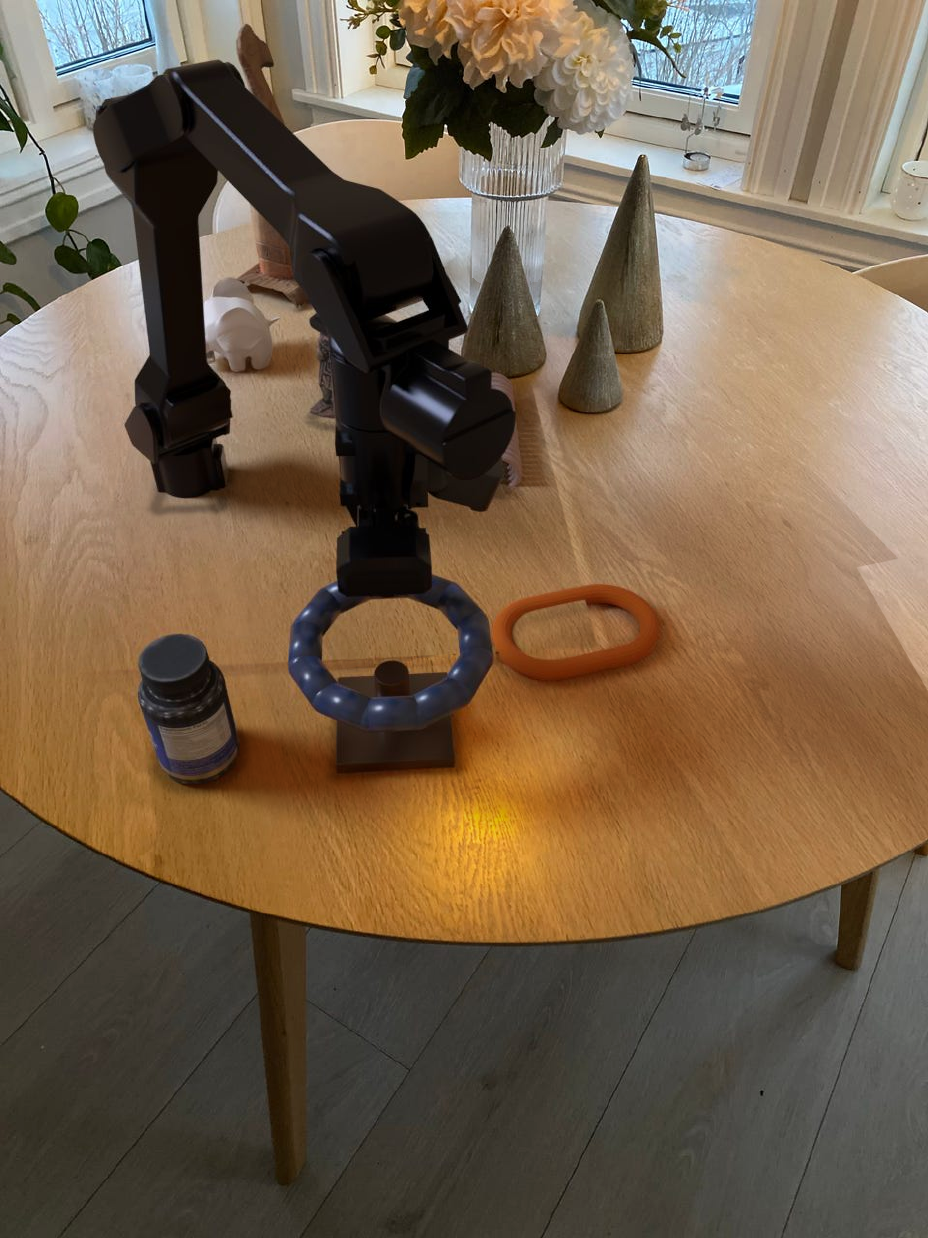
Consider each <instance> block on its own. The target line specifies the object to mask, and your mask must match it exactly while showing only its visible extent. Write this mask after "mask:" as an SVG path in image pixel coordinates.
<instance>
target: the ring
mask: <svg viewBox="0 0 928 1238" xmlns="http://www.w3.org/2000/svg"><path fill="white" fill-rule="evenodd" d="M394 599H397V600H398V599H409V600H411V601H414V602H417V603H420V604H422V605H425V606H428V607H430V608H433V609H436V610H438V611H440V613H441V614H442V615H443V616H444V617H445V619H447V620H448V622H450V624H451V625H452V626H453V627H454V629H456V631H457V637H458V638H457V639H458V649H459V655H458V657H457V659H456V660H455V661H454V663H453V665H452V666H451V668H450V670H449V671H448V672H447V676H446V678H445V679H443V680H441V681H439V682H437V683H435V684H433V685H432V686H430V687H428V688H426V689H424V690H422V691H420V692H418V693H416V694H414V695H413V696H393V697H370V696H367V695H365V694H362V693H360V692H358V691H355V690H353V689H350V688H348V687H345V686H343V685H341V684H338V680H337V679H336V678H335V677H334V676H333V674H332V673H331V671H330V670H329V669H328V667H327V666H326V664H325V663H324V662H323V641H324V640H323V639H324V636H325V635H326V633H328V631H329V630H330V628H331V627H332V626H333V624H334V623H335V621H336V620H337V619H338V618H339V616H340V615H342V614H344V613H347V612H348V611H350V610H352V609H354V608H356V607H359V606H361V605H362V604H365V603H368V602H369V601H371V600H394ZM288 641H289V642H288V657H287V658H288V660H287V670H288V673H289V675H290V677H291V679H292V680H293V681H294V683H295V684H296V686H297V687H298V688H299V690H300V691H301V693H302V694H303V695H304V697H305V698H306V700H307V701H308V702H309V704H310V706H311V707H312V708H313V710H314V711H316V712H317V713H319V714H320V715H323V716H325V717H327V718H330V719H332V720H334V721H336V722H337V721H339V722H341V723H344V724H346V725H348V726H351V727H353V728H356V729H358V730H360V731H363V732H368V733H371V732H390V731H410V730H422V729H424V728H426V727H428V726H430V725H432V724H434V723H435V722H437V721H439V720H441V719H443V718H445V717H446V716H448V715H450V714H451V715H452V714H454V713H456V712H457V711H459V710H461V709H463V708H465V707H467V706H468V705H469V704H470V703H471V701H472V700H473V698H474V697H475V695H476V693H477V692H478V690H479V688H480V687H481V685H482V683H483V682H484V680H485V678H486V677H487V675H488V673H489V671H490V670H491V668H492V666H493V663H494V651H493V641H492V633H491V628H490V620H489V617H488V615H487V614H486V613H485V612H484V610H483V609H482V608H481V607H480V606H479V605H478V604H477V602H475V600H474V599H473V598H472V597H471V596H470V595H469V594H468V593H467V592H466V591H465V590H464V589H463V587H461V585H460V584H459V583H457V582H455V581H453V580H449V579H447V578H444V577H441V576H438V575H436V574H433V573H432V588H431V589H430V590H428V591H427V592H426V593H424V594H405V595H395V597H392V598H382V597H380V596H358V597H346V596H344V595H343V594H341V593H340V592H338V584H337V580H336V581H334V582H332V583H330V584H328V585H325V586H323V587H322V588H320V589H318V590H317V592H316V593H315V594H314V595H313V596H312V597H311V599H310V600H309V602H308V603H307V604H306V605H305V606H304V607H303V609H301V612H300V613H299V614H298V615H297V617H296V618H295V619H294V620H293V621H292V623H291V625H290V630H289V639H288Z"/></svg>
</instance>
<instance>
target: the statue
mask: <svg viewBox="0 0 928 1238" xmlns="http://www.w3.org/2000/svg"><path fill="white" fill-rule="evenodd" d="M317 341H318V346H317V350H316V358H317V359H318V361H319V367H318V383H317V384H318V386H319V388H320V390H321V393H322V397H321V398H320V399H319V400H318V401H317V402H316V403H315V404H314V405H312V407H311V408H309V411H308V412H309V413H310V414H311V415H314V416H318V417H322V418H325V419H334V420H335V412H334V401H333V391H332V380H331V369H330V358H329V347H328V337H326V336H324V335H323V334H321V333H320V332H319V337H317Z"/></svg>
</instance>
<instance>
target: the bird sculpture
mask: <svg viewBox="0 0 928 1238" xmlns="http://www.w3.org/2000/svg"><path fill="white" fill-rule="evenodd" d="M235 51H236V56H237V60H238V63H239V64H240V67H241V70H242V72H243V76H244V78H245V83H246V85H247V89H248V90H249V91H250V92H251V93H252V94H253V95H254V96H255V97H256V98H257V99H258V100H259V101H260V102H261V103H262V104H263V105H264V106H265V107H266V108H267V109H268V110H269V111H270V112H272V113H273V114H274V115H275V116H276V117H277V118H278V119H279V120H280V121H281V122H282V123H283V124H284V125H285V126H286V124H285V121H284V119H283V117H282V114H281V111H280V109H279V107H278V103H277V102H276V100H275V97H274V95H273V92H272V91H271V88H270V86H269V84H268V81H267V79H266V77H265V74H264V71H263V68H273V67H274V65H275V63H274V59H273V55H272V53H271V50H270V48H269V46H268V44H267V42H265V41H264V40H262V39H260V37H259V36H258V35H256V33H255V30H254V29H253V28H252V26H251V25H250V24H248V23H243V25H242V26H241V27H240V29H238V32H237V37H236V40H235ZM249 208H250V214H251V223H252V229H253V234H254V235H253V236H254V240H255V247H256V252H257V256H258V257H257V259H258V262H257V264H255V265H254V266H252V267H251V268H249V269H248V270H246V271H245V272H243V273H242V274H241V275H239V276H238V277H237V278H235V279H237V280H239V281H240V282H241V283H243V284H244V285H245V283H249V284H253V285H256V286H259V287H263V288H267V289H273V290H274V291H277V292H281V293H283V294H284V295H285V296H286V297H287V299H289V300H290V301H291V302H292V303H293V304H294V306H295V308H296V309H297V310H299V306H300V307H301V308H302V307H304V306H303V305H304V304H307V303H310V302H309V300H308V298H307V296H306V295H305V293H304V292H303V291H302V289H301V288H300V287H299V285H298V284H297V283H296V281H295V280H294V278H293V276H292V266H291V254H290V248H289V246H288V245H287V244H286V242H285V241H284V240H283V238H282V237H281V236H280V234H279V233H278V232H277V231H276V230H275V229H274V228H273V227H272V226H271V225H270V224H269V223H268V222H267V221H266V220H265V219H264V218H263V217H262V216H261V214H260V213H259V212H258V211H257V210H256V209H255V208H254V207H253V206H252V205H251V204H250V203H249Z"/></svg>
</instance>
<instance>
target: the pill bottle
mask: <svg viewBox="0 0 928 1238" xmlns="http://www.w3.org/2000/svg"><path fill="white" fill-rule="evenodd" d="M207 649H208V648H207V647H206V645H205V643H203V641H202V640H201V639H199V638H198V637H196V636H194V635H191V634H186V633H172V634H167V635H164V636H161V637H159V638H157V639H154V640H153V641H151V642H149V643H148V644H147V645H145V647H144V648H143V650H142V651H141V652H140V655H139V657H138V663H137V664H138V669H139V672H140V677H141V680H140V681H139V684H138V689H137V700H138V703H139V706H140V709H141V712H142V715H143V718H144V722H145V725H146V727H147V730H148V733H149V736H150V739H151V742H152V745H153V748H154V752H155V754H156V757H157V760H158V763H159V766H160V768H161V770H162V771H163V772H164V773H166V775H167V777H168V778H169V779H171V780H172V781H174V782H176V783H179V784H183V785H202V784H207V783H210V782H213V781H216V780H217V779H218V778H221V777H222V776H223V775H225V774H226V773H227V772H228V771H230V769H231V768H232V767H233V766H234V764H235V763H236V760H237V758H238V755H239V751H240V740H239V736H238V731H237V727H236V723H235V717H234V713H233V710H232V706H231V701H230V697H229V696H230V695H229V692H228V689H227V688H228V687H227V683H226V679H225V676H224V673H223V672H222V670H221V668H220V667H219V666H218V665H217V664H216V663H215V662H214V661H212V660H210V656H209V654H208V650H207Z"/></svg>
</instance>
